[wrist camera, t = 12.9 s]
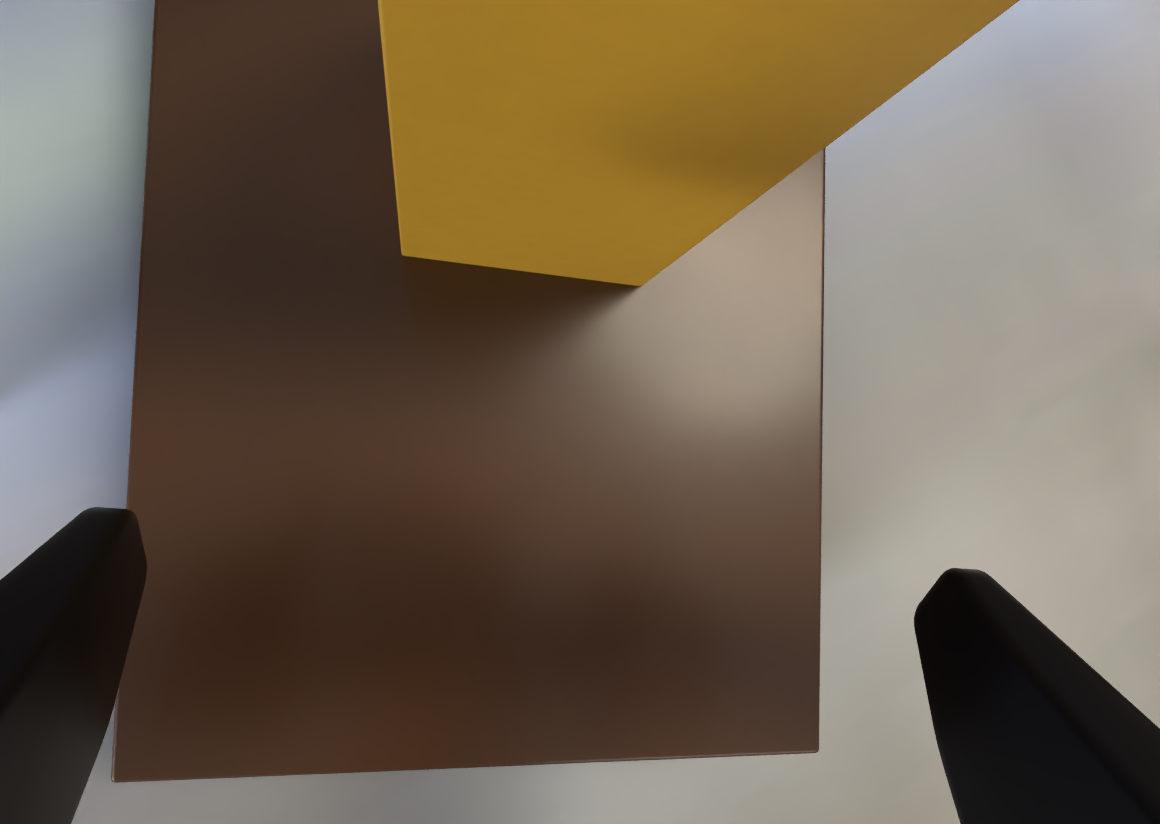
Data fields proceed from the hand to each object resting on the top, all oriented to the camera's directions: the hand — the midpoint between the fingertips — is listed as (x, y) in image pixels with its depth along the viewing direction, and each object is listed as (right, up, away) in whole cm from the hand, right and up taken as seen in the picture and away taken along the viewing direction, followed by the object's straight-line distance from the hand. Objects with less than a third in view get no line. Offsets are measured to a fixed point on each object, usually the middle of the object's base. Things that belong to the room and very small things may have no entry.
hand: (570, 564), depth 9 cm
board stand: (-2, +3, +12) cm, 12 cm away
